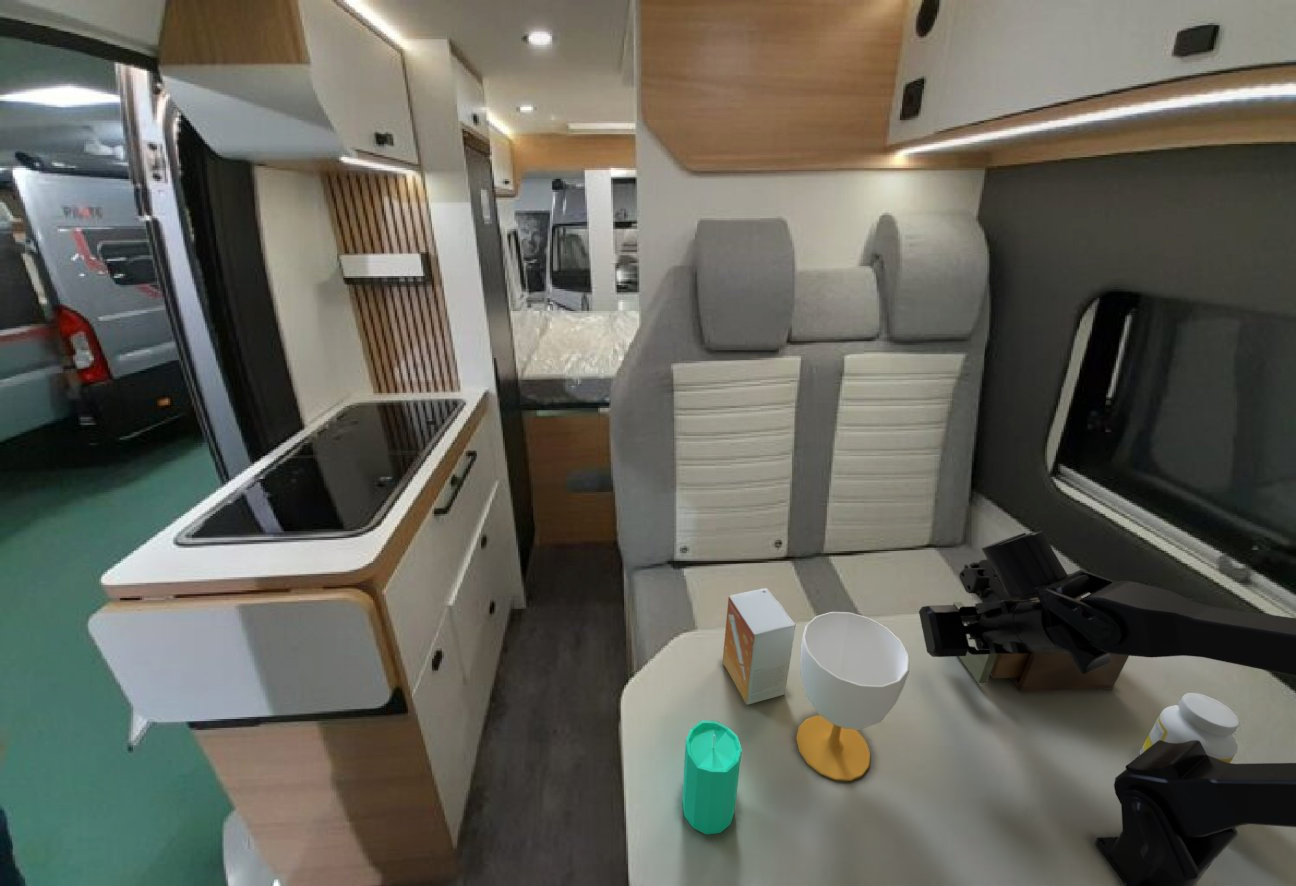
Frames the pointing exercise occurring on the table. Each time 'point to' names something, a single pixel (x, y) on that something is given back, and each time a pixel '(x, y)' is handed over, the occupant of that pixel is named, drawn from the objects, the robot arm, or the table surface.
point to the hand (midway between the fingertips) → (959, 631)
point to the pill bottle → (1198, 726)
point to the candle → (710, 776)
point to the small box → (758, 645)
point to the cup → (847, 689)
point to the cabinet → (1066, 673)
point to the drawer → (994, 663)
